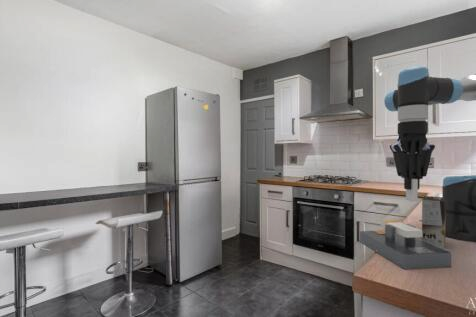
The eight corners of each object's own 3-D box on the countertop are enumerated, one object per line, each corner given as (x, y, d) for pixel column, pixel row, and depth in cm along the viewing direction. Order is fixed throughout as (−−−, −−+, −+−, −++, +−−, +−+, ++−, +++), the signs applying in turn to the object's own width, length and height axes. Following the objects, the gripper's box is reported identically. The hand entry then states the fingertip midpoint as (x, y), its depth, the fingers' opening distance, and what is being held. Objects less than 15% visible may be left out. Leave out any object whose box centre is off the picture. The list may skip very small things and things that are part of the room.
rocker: (394, 225, 89) (394, 219, 89) (422, 237, 77) (422, 229, 77) (380, 226, 89) (380, 219, 89) (406, 237, 77) (406, 230, 77)
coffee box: (444, 249, 86) (445, 200, 86) (421, 245, 90) (421, 198, 90) (445, 241, 93) (445, 197, 93) (423, 238, 97) (423, 195, 97)
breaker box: (396, 240, 95) (396, 216, 95) (451, 266, 73) (451, 235, 73) (359, 242, 94) (359, 217, 93) (404, 269, 72) (404, 237, 71)
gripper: (422, 123, 82) (421, 197, 82) (383, 122, 81) (382, 198, 81) (443, 120, 74) (442, 202, 75) (400, 119, 73) (400, 203, 73)
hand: (411, 200), depth 78 cm, fingers closed
